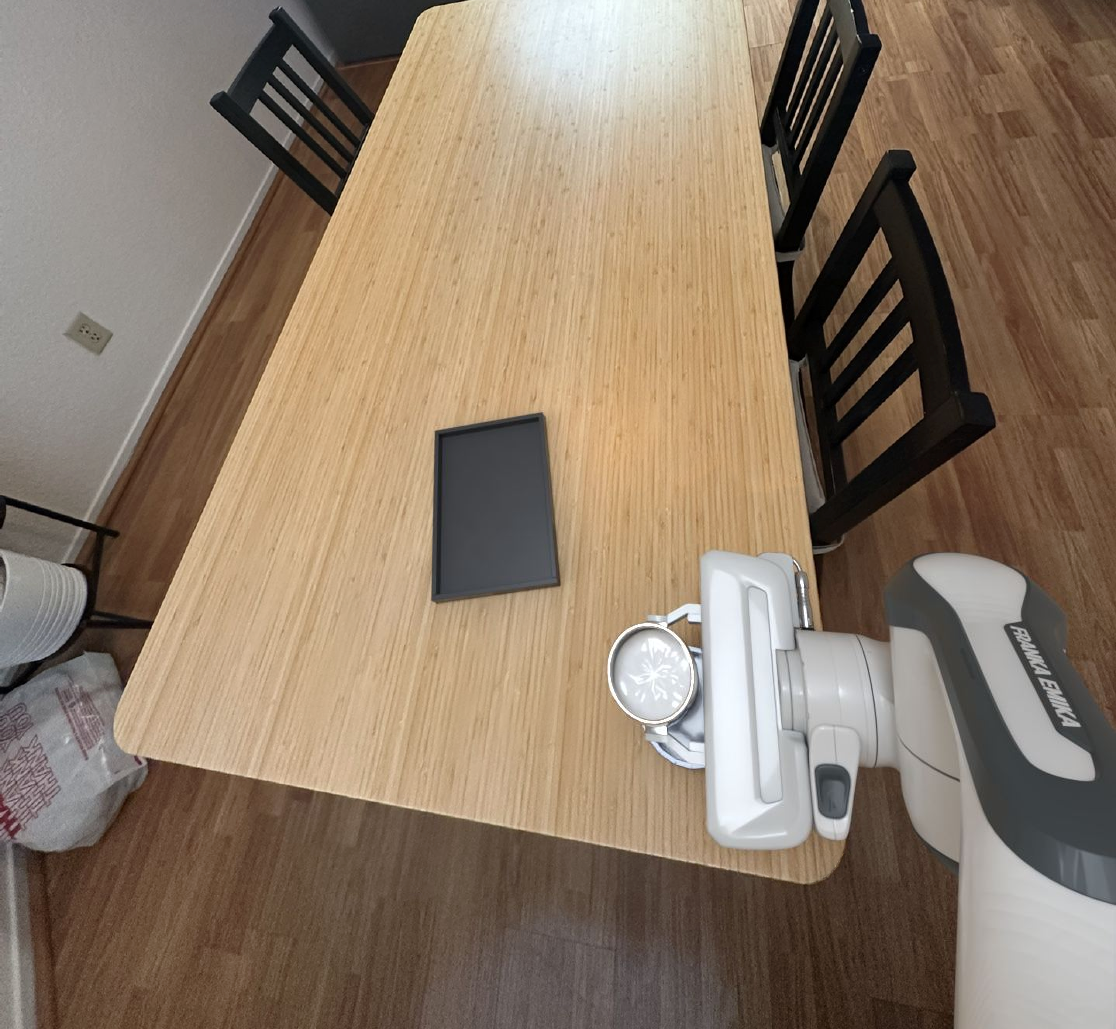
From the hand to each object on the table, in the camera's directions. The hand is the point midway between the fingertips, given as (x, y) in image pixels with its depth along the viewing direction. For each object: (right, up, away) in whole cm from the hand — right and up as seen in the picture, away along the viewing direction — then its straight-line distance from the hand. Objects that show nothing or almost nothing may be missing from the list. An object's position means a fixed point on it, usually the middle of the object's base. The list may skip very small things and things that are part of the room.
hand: (646, 675), depth 53 cm
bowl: (+6, -10, +12) cm, 17 cm away
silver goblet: (+2, -4, +6) cm, 8 cm away
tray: (-16, +5, +28) cm, 32 cm away
